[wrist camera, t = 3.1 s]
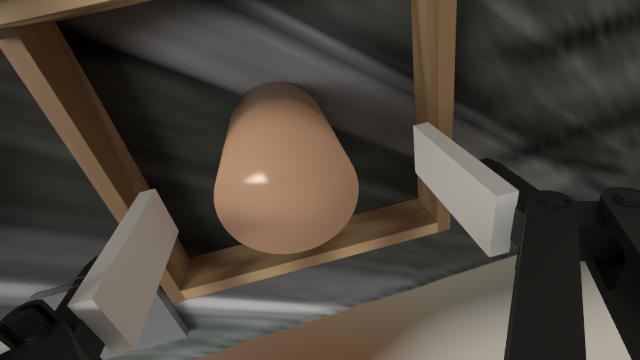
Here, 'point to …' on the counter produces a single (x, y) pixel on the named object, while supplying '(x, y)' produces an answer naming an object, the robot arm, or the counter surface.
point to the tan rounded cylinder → (283, 173)
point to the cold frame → (127, 182)
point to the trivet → (157, 328)
